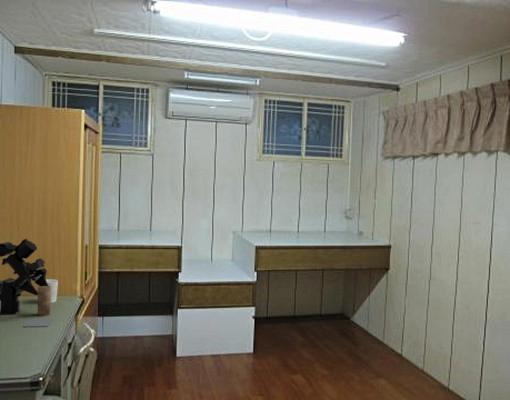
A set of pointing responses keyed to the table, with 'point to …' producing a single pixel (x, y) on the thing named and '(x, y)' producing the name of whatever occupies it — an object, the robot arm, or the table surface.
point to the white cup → (53, 289)
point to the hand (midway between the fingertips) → (43, 292)
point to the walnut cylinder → (44, 300)
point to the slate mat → (38, 323)
